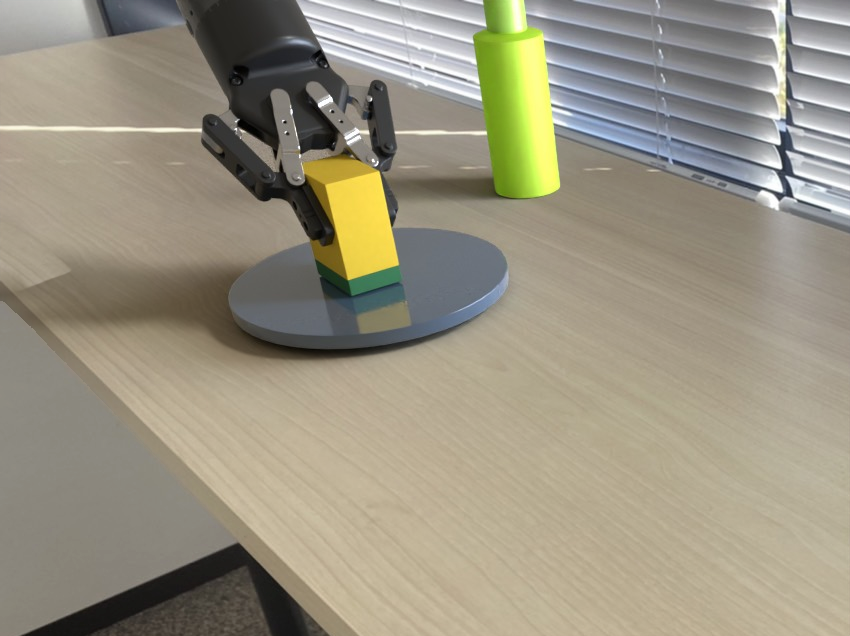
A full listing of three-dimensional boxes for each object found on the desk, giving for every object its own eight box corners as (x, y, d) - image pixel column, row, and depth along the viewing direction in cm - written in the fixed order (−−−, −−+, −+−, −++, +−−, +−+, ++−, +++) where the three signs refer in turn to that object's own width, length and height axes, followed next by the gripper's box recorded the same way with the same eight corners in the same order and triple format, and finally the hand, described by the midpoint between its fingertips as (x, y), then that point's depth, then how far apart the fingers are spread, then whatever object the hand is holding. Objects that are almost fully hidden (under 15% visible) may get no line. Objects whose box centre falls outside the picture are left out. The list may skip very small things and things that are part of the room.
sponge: (351, 296, 82) (324, 184, 77) (318, 274, 86) (290, 165, 81) (402, 280, 84) (379, 170, 80) (368, 259, 88) (344, 152, 83)
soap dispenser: (507, 206, 102) (471, -48, 90) (488, 183, 107) (451, -60, 95) (571, 195, 103) (544, -54, 92) (549, 173, 109) (521, -66, 97)
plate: (365, 383, 75) (360, 361, 74) (175, 317, 84) (168, 296, 83) (565, 277, 89) (562, 257, 88) (382, 230, 98) (378, 211, 97)
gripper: (143, 0, 75) (267, 231, 75) (347, -32, 82) (462, 179, 82) (143, 71, 81) (257, 285, 81) (332, 36, 89) (439, 232, 88)
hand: (360, 230), depth 81 cm, fingers closed on sponge, 4 cm apart
